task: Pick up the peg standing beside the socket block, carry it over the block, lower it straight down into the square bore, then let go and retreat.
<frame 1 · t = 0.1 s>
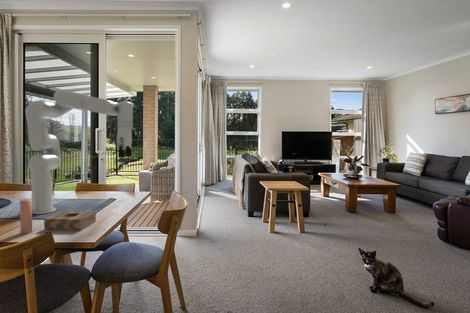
hand: (124, 156, 157), 31 cm above the table, fingers open, 9 cm apart
peg: (26, 232, 124), on the table
socket block: (71, 225, 135), on the table
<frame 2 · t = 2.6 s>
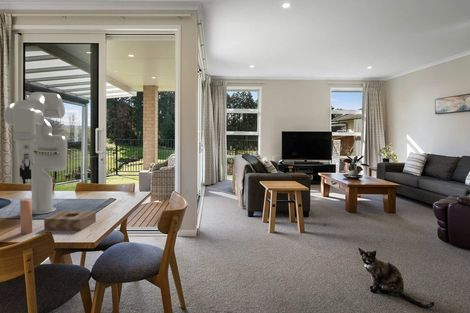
hand: (25, 177, 122), 24 cm above the table, fingers open, 9 cm apart
nothing on the table moved.
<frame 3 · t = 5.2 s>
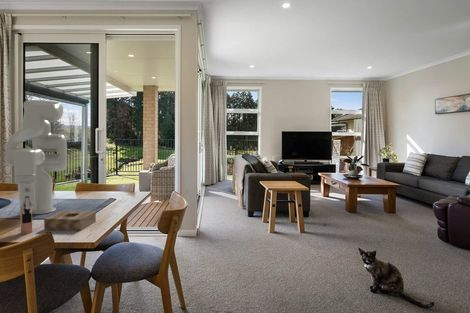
hand: (26, 221, 124), 5 cm above the table, fingers closed on peg, 4 cm apart
peg: (26, 232, 124), on the table, touching gripper
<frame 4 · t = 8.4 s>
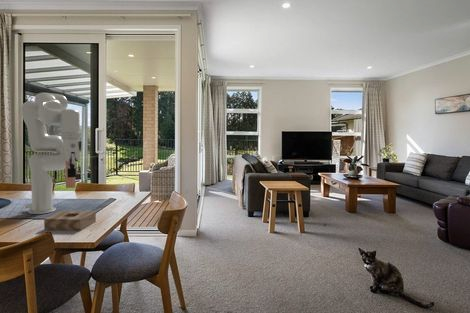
hand: (70, 176, 134), 23 cm above the table, fingers closed on peg, 4 cm apart
peg: (70, 187, 134), point 18 cm above the table, touching gripper
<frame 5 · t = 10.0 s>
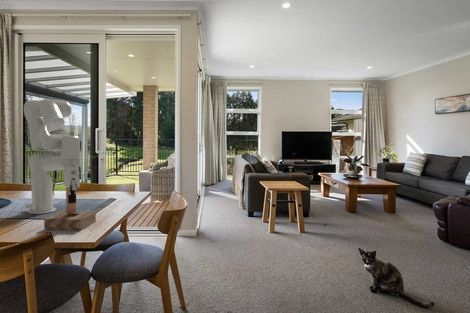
hand: (71, 201, 134), 11 cm above the table, fingers closed on peg, 4 cm apart
peg: (71, 212, 135), point 6 cm above the table, touching gripper
when the fingers open (7 cm above the table, at t = 11.4 s): peg drops 2 cm, resting in socket block.
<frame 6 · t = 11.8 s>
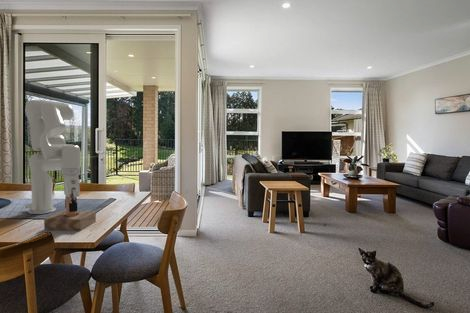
hand: (71, 209, 135), 8 cm above the table, fingers open, 8 cm apart
peg: (71, 225, 135), resting in socket block
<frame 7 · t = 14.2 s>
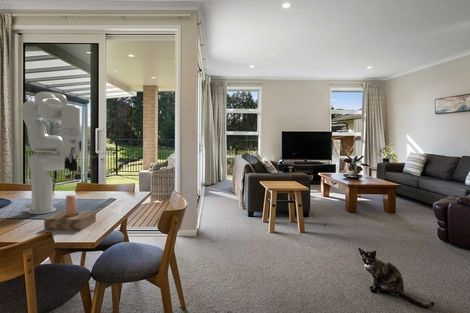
hand: (70, 169, 134), 26 cm above the table, fingers open, 9 cm apart
nothing on the table moved.
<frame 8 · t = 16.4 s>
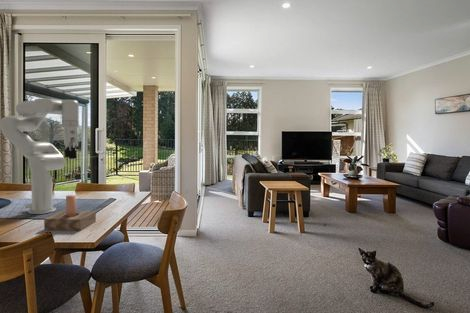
hand: (70, 157, 149), 30 cm above the table, fingers open, 9 cm apart
nothing on the table moved.
at the end: peg 0.0 cm off-centre on the socket block, point 0.0 cm above the socket block's base; peg tilted 0°; the gripper is holding nothing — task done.
